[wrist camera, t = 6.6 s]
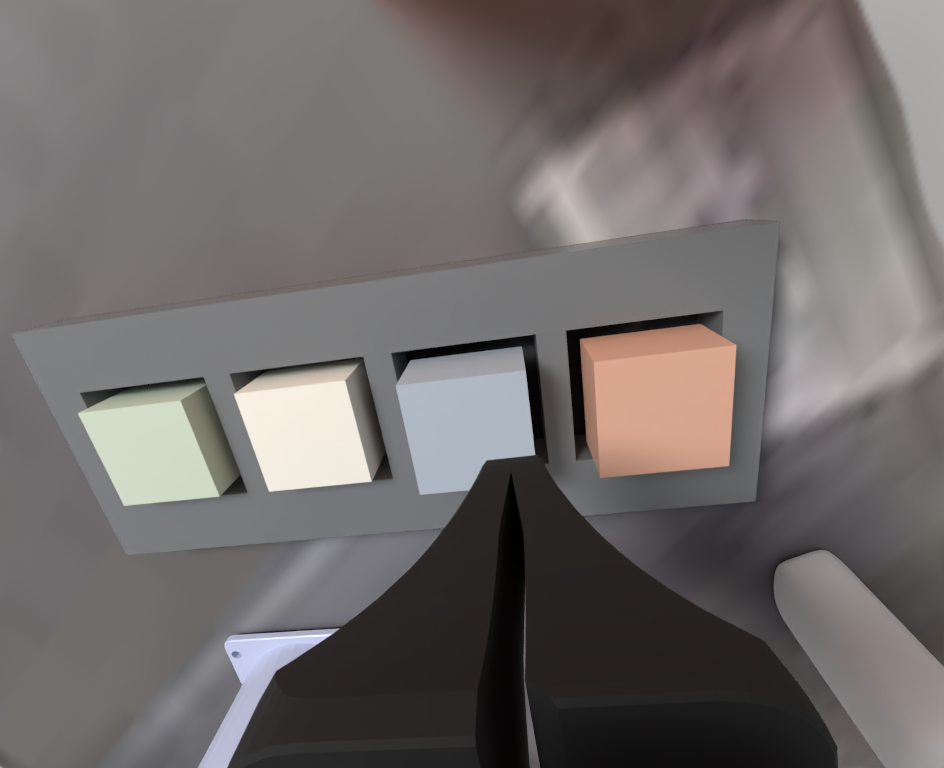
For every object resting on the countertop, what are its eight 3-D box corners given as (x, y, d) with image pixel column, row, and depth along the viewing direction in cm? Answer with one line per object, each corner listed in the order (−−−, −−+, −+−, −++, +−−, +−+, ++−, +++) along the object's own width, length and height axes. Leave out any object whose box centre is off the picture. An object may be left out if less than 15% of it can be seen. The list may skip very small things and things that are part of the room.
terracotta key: (697, 429, 17) (729, 465, 14) (586, 440, 17) (600, 477, 15) (700, 323, 15) (736, 345, 13) (579, 339, 16) (593, 362, 13)
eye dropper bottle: (882, 546, 20) (1375, 983, 9) (843, 640, 22) (1202, 1091, 11) (779, 542, 20) (1129, 963, 9) (750, 635, 22) (1006, 1073, 11)
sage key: (252, 462, 20) (219, 496, 17) (167, 471, 20) (124, 505, 18) (220, 375, 18) (180, 400, 16) (130, 387, 19) (77, 413, 16)
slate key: (533, 446, 17) (538, 483, 15) (430, 457, 18) (420, 495, 15) (521, 346, 16) (525, 370, 14) (410, 360, 16) (395, 385, 14)
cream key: (387, 447, 19) (371, 481, 17) (296, 457, 19) (268, 491, 17) (365, 357, 18) (345, 380, 15) (268, 369, 18) (233, 394, 16)
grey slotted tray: (730, 472, 19) (755, 501, 17) (158, 525, 22) (126, 554, 20) (746, 219, 15) (780, 221, 14) (60, 320, 18) (10, 333, 16)
